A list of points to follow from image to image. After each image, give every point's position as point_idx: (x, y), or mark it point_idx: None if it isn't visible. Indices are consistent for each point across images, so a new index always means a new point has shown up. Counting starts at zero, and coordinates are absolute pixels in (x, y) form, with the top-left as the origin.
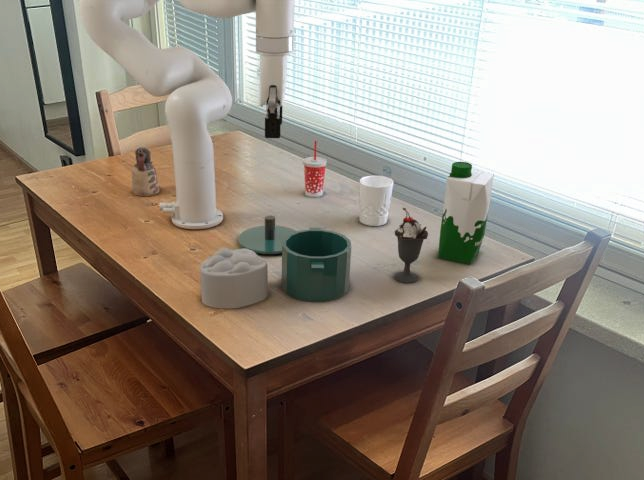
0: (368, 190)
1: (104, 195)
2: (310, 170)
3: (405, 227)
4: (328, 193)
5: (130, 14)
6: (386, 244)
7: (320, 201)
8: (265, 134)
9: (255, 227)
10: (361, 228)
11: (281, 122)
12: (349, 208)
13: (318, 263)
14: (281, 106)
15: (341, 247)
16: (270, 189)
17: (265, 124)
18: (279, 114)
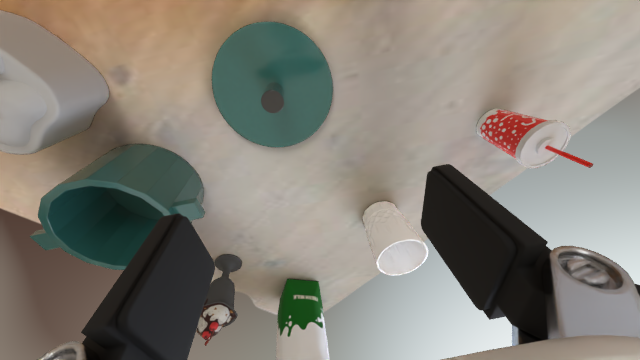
0: (378, 248)
1: None
2: (516, 136)
3: (201, 323)
4: (488, 145)
5: None
6: (310, 236)
7: (456, 139)
8: (156, 229)
9: (316, 50)
10: (354, 206)
11: (427, 232)
12: (424, 183)
13: (53, 241)
14: (488, 312)
15: None
16: (535, 31)
17: (120, 283)
18: (452, 259)
